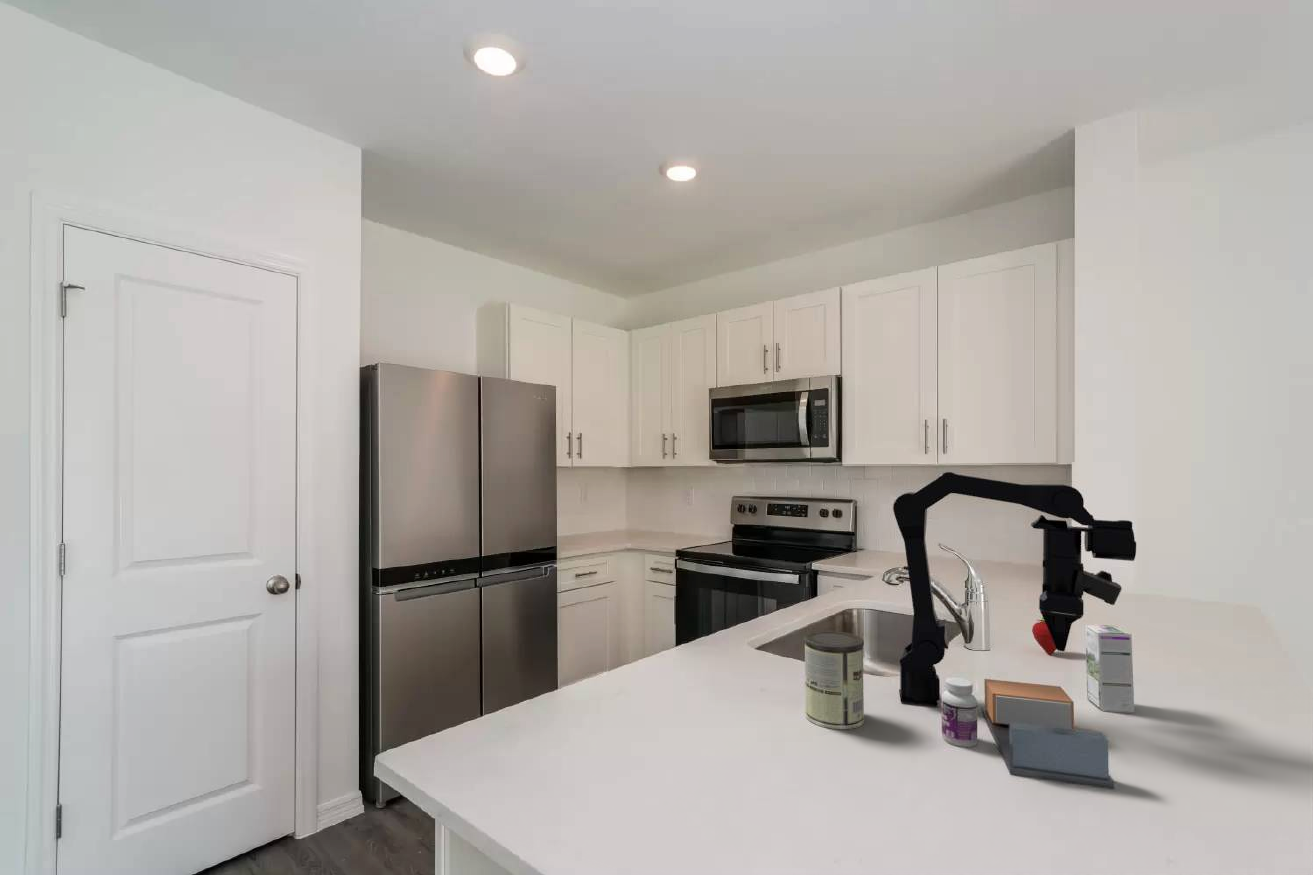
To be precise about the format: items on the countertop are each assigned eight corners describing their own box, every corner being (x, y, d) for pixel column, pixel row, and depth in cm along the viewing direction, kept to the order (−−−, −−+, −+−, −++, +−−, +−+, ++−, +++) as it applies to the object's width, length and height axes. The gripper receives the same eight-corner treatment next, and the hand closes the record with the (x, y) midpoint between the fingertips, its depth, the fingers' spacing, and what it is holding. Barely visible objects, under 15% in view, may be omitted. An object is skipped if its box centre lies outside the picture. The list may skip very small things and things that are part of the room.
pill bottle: (935, 733, 107) (934, 675, 107) (965, 733, 107) (964, 675, 108) (952, 748, 102) (952, 687, 102) (984, 747, 102) (983, 686, 102)
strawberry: (1025, 651, 153) (1025, 609, 154) (1051, 649, 155) (1050, 608, 155) (1046, 659, 148) (1045, 615, 148) (1072, 656, 149) (1071, 613, 150)
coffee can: (810, 702, 120) (810, 627, 121) (867, 712, 116) (867, 634, 116) (798, 723, 111) (798, 641, 112) (860, 734, 107) (859, 649, 107)
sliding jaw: (984, 706, 116) (984, 678, 116) (1060, 715, 112) (1060, 686, 112) (993, 724, 108) (993, 694, 108) (1075, 733, 104) (1074, 702, 104)
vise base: (981, 712, 116) (980, 676, 116) (1063, 721, 112) (1062, 684, 112) (1010, 774, 93) (1009, 729, 94) (1114, 789, 89) (1113, 742, 90)
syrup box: (1135, 713, 116) (1134, 633, 116) (1099, 711, 117) (1098, 631, 118) (1119, 702, 122) (1118, 625, 122) (1085, 699, 123) (1084, 623, 123)
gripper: (1121, 568, 100) (1121, 667, 100) (1114, 553, 116) (1114, 640, 116) (1039, 560, 107) (1038, 654, 106) (1043, 547, 122) (1042, 629, 122)
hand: (1061, 644), depth 112 cm, fingers open, 9 cm apart
